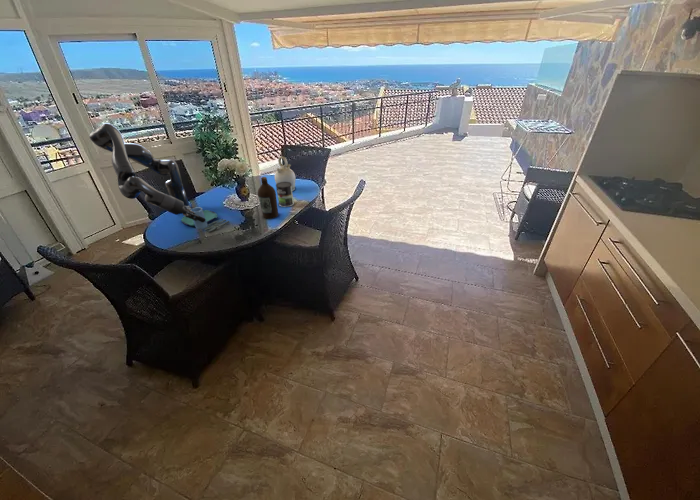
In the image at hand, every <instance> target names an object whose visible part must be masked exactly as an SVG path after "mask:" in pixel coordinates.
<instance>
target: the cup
mask: <svg viewBox="0 0 700 500" xmlns="http://www.w3.org/2000/svg"><path fill="white" fill-rule="evenodd" d="M191 211H193V212H195V214H197V215H199V216H200V217H203V218H205V216H204V213H203V207H200V206H198V207H193V208H191ZM192 214H193V213H192ZM194 218H195V216H194ZM193 221H194V224H195V226H194V228H195V229H196V230H204V228H206V227H208V225H209V224H208V223H207V222H206V219H205V221H204V222H201V221H199V220H197V221H195V220H193Z"/></svg>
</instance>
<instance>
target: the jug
mask: <svg viewBox="0 0 700 500" xmlns="http://www.w3.org/2000/svg"><path fill="white" fill-rule="evenodd" d="M282 160H283V161H284V164H283V163H282ZM277 162H278V165H279V167H277V168H276V171H275V173H274V182H275V185H276V184H277V183H280V182H290V183H291V184H292V192H293V191H295V190H296V180H297V179H296V174H295V172H294V170H293V169H291V166H292V164H290V163H288V159H287V158H286V157H285V156H283V155H281V156H279V157H278V160H277Z"/></svg>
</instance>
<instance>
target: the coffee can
mask: <svg viewBox="0 0 700 500" xmlns="http://www.w3.org/2000/svg"><path fill="white" fill-rule="evenodd" d="M275 188H276V196H277V202H278V206H279V207H281V208H288V207H289V208H290V207H292V206H293V205H294V204H295V200H294V194H293V191H292V184H291V183H290V182H280V183H277V184H276V183H275Z"/></svg>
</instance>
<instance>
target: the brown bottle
mask: <svg viewBox="0 0 700 500" xmlns="http://www.w3.org/2000/svg"><path fill="white" fill-rule="evenodd" d="M260 179H261V185H260V186H259V188H258V189H257V198H258V201H259V205H260V208H261V213H262V217H263V218H264V219H266V220H273V219H276V218H277V217H278V216H279V209H278V199H277V191H276V189H275V188H274V187H273V186H272V185H270V184H269V182H268V177H266V176H262V177H261V178H260Z"/></svg>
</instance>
